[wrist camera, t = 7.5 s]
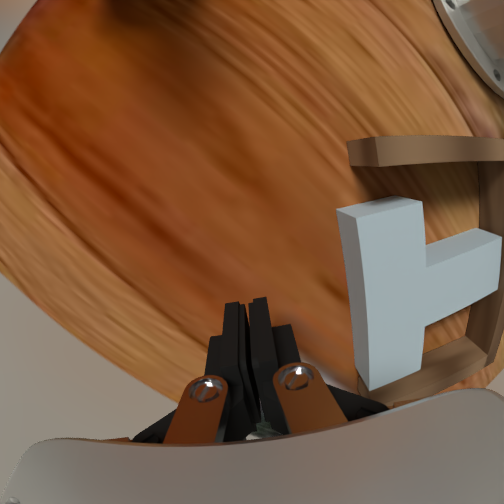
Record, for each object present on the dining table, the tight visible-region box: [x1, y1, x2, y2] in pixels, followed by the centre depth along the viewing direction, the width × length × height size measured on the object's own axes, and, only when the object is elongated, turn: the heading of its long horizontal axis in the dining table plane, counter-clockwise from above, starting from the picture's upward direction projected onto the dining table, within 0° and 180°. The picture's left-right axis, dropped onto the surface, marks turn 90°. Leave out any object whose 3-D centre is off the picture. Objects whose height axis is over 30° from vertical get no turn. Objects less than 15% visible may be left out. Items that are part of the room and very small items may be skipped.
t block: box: [336, 195, 502, 391], centre depth 14 cm, size 10×10×2 cm
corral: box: [347, 135, 504, 406], centre depth 14 cm, size 11×15×3 cm
